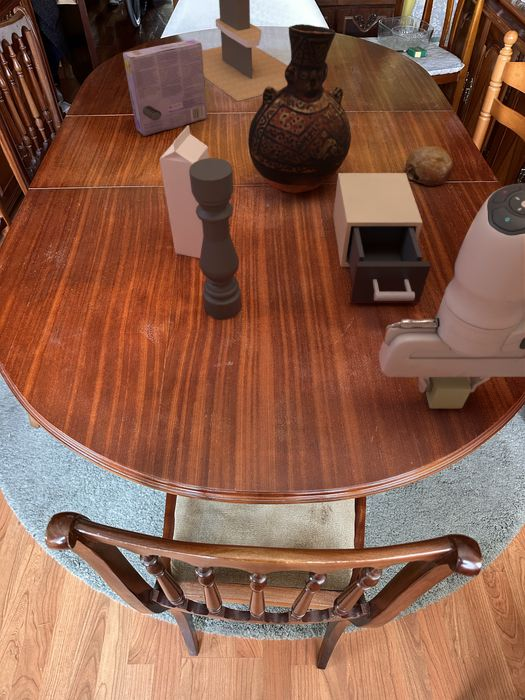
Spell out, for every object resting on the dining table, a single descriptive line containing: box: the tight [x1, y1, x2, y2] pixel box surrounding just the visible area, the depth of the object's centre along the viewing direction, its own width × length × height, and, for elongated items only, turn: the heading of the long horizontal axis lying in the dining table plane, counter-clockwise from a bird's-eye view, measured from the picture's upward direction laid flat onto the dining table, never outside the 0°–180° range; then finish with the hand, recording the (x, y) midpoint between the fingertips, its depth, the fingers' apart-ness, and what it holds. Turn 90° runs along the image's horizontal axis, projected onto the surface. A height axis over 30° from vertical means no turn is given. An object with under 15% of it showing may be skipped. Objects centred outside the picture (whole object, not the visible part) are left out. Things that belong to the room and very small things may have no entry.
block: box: [425, 377, 472, 409], centre depth 70 cm, size 4×4×4 cm
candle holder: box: [189, 157, 242, 320], centre depth 76 cm, size 6×6×25 cm
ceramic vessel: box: [247, 23, 352, 194], centre depth 99 cm, size 21×18×30 cm
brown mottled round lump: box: [405, 145, 454, 187], centre depth 110 cm, size 10×10×8 cm
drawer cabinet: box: [332, 172, 423, 268], centre depth 93 cm, size 16×13×10 cm
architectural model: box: [202, 0, 289, 102], centre depth 144 cm, size 38×25×20 cm, turn 32°
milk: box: [159, 125, 210, 259], centre depth 87 cm, size 6×6×22 cm
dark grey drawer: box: [347, 226, 431, 304], centre depth 85 cm, size 19×11×8 cm, turn 0°
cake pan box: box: [122, 38, 208, 137], centre depth 122 cm, size 19×5×18 cm, turn 123°
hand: (445, 388), depth 71 cm, fingers closed on block, 4 cm apart
